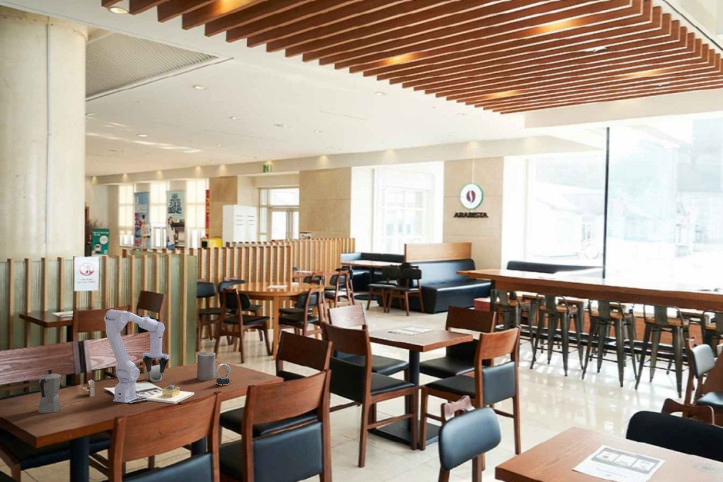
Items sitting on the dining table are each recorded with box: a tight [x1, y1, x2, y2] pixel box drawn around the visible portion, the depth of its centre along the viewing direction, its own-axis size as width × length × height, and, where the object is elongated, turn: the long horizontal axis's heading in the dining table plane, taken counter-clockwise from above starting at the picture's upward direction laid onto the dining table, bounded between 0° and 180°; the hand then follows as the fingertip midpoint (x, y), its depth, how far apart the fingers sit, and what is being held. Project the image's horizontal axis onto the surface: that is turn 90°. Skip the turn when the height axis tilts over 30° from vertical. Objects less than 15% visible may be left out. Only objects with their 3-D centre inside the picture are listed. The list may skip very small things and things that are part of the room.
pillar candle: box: [196, 351, 217, 381], centre depth 320 cm, size 10×10×15 cm
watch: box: [215, 363, 232, 385], centre depth 308 cm, size 6×8×11 cm
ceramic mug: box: [143, 364, 164, 383], centre depth 314 cm, size 11×8×8 cm
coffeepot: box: [38, 369, 62, 414], centre depth 258 cm, size 15×9×18 cm, turn 6°
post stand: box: [145, 384, 195, 404], centre depth 282 cm, size 16×16×6 cm
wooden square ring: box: [161, 386, 181, 397], centre depth 282 cm, size 6×6×4 cm
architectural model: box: [82, 379, 96, 398], centre depth 283 cm, size 3×7×7 cm, turn 42°
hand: (155, 372), depth 293 cm, fingers open, 7 cm apart
